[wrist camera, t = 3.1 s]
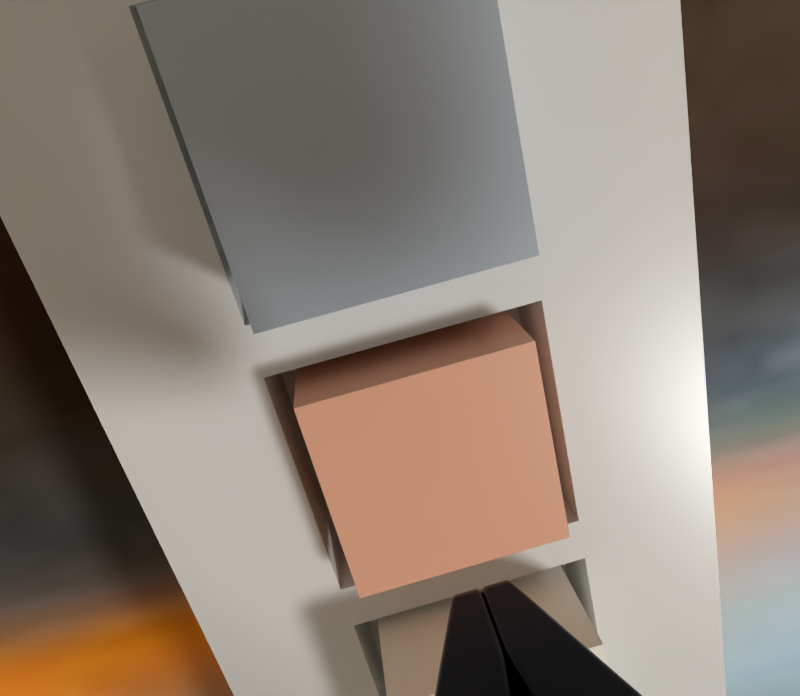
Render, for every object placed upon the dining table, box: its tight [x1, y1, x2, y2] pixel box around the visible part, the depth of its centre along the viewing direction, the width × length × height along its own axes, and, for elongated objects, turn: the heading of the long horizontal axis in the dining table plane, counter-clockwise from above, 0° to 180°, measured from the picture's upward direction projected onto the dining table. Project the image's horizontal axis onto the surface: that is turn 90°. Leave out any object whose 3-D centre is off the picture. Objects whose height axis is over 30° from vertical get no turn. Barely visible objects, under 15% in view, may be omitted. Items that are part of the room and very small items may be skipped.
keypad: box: [0, 0, 727, 696], centre depth 17 cm, size 27×12×5 cm, turn 14°
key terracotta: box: [294, 310, 570, 598], centre depth 13 cm, size 5×5×2 cm
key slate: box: [136, 0, 539, 334], centre depth 10 cm, size 5×5×2 cm
